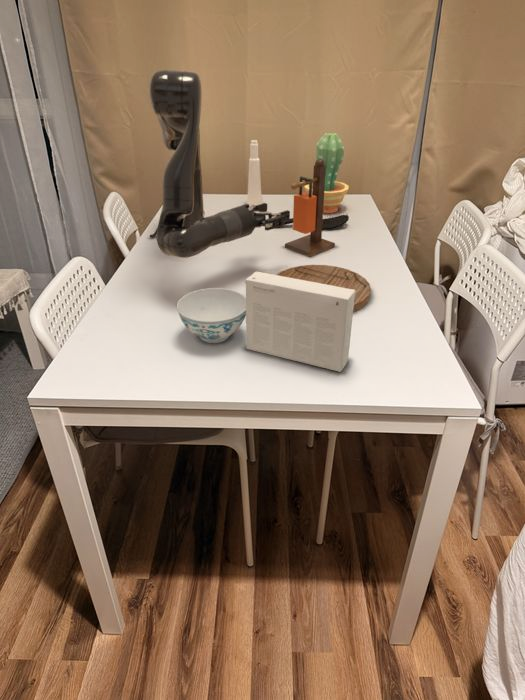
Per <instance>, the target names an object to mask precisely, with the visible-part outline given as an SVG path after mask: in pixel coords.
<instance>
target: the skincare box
mask: <svg viewBox="0 0 525 700" xmlns="http://www.w3.org/2000/svg"><path fill="white" fill-rule="evenodd" d="M245 297H246V316H245V328H246V329H245V331H246V332H245V333H246V334H245V337H246V338H245V341H246V342H245V343H246V344H245V349H247V350H249V351H253V352H258V353H261V354H267V355H270V356H274V357H278V358H282V359H286V360H290V361H295V362H298V363H301V364H302V363H303V364H306V365H311V366H313V367H314V366H315V367H318V368H323V369H327V370H331V371H334V372H339V373H341V372H342V371H343V370H344V368H345V367H346V365H347V364H348V361H349V354H350V345H351V337H352V327H353V326H352V324H353V315H354V312H353V308H354V298H355V290H353V289H347V288H342V287H337V286H332V285H326V284H321V283H316V282H311V281H305V280H300V279H294V278H289V277H284V276H278V275H276V274H272V273H268V272H261V271H254V272H253V273H252V274H251V275H250V276H248V277H246V279H245Z"/></svg>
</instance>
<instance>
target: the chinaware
mask: <svg viewBox="0 0 525 700" xmlns="http://www.w3.org/2000/svg"><path fill="white" fill-rule="evenodd" d="M176 310H177V313H178V315H179V316H178V317H179V318H180V320H181V322H182V323H183V325H184V327H185V328H186V329H187V330H188V331H189V332H191V333H192V334H193V335H195V336H197V337H199V339H200V340H201V341H203V342H205V343H210V344H217V343H222V342H225V341H226V340H227V339H229V338H230V336H231V335H232V334H234V333H235V332H236V331H237V330H238V329H239V328H240V327H241V326H242V325H243V323H244V321H245V320H246V295H244V294H242V293H241V292H238V291H236V290H233V289H229V288H224V287H223V288H222V287H208V288H202V289H197V290H193V291H191V292H188V293H187V294H184V295H183V296H182V297H180V299H179V300H178V301H177V303H176Z"/></svg>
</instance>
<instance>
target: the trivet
mask: <svg viewBox="0 0 525 700" xmlns="http://www.w3.org/2000/svg"><path fill="white" fill-rule="evenodd" d="M275 275H278V276H284V277H289V278H294V279H300V280H305V281H311V282H316V283H321V284H326V285H332V286H337V287H342V288H347V289H353V290H355V298H354V308H353V313H354V312H356V311H358V310H360V309H362V308H364V307H365V306H366V305H367V304H368V302H369V300H370V297H371V289H372V288H371V284H370V282H369V281H368V280H367V279H366V278H365V277H364V276H363V275H360V274H359V273H358V272H355V271H352V270H351V269H348V268H344V267H340V266H335V265H328V264H327V265H326V264H304V265H298V266H293V267H289V268H286V269H283V270H281V271H279V272H278V273H276V274H275Z"/></svg>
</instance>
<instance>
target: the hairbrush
mask: <svg viewBox="0 0 525 700" xmlns="http://www.w3.org/2000/svg"><path fill="white" fill-rule="evenodd" d="M349 219H350V216H349V213H346V214H343V212H340V215H336V214H335V213H334V214H333V216H331V217H329V216H328V214H326V217H325V218H323V222H322V231H331V230H335V229H338V228H340V227H342V226H344V225H346V224H347V222H348V221H349ZM290 224H293V217H292V218H291V217H290V218H289V219H287V220H284V226H287V225H290Z"/></svg>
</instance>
